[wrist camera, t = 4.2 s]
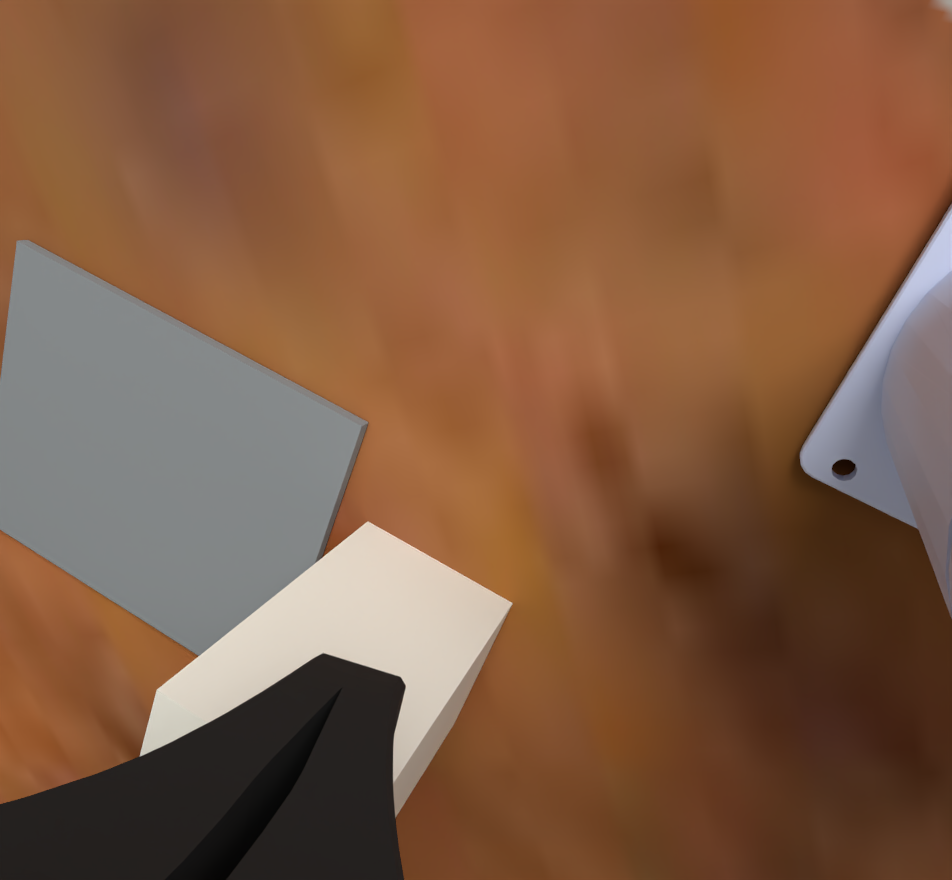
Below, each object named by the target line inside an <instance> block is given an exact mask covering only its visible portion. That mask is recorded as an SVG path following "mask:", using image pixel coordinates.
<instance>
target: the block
mask: <svg viewBox="0 0 952 880" xmlns="http://www.w3.org/2000/svg"><path fill="white" fill-rule="evenodd" d="M512 604H513V603H511V602H510V601H508V600H506V599H504V598H503V597H501V596H499V595H497V594H495V593H494V592H492V591H490V590H488V589H487V588H485V587H483V586H481V585H480V584H478V583H476V582H474V581H472V580H471V579H469V578H467V577H465V576H464V575H462V574H460V573H458V572H457V571H455V570H453V569H451V568H449V567H448V566H446V565H444V564H442V563H441V562H439V561H437V560H435V559H434V558H432V557H430V556H428V555H426V554H425V553H423V552H421V551H419V550H418V549H416V548H414V547H412V546H411V545H409V544H407V543H405V542H403V541H402V540H400V539H398V538H396V537H395V536H393V535H391V534H389V533H388V532H386V531H384V530H382V529H380V528H379V527H377V526H375V525H373V524H372V523H370V522H366V523H365V524H364V525H363V526H361V527H360V528H359V529H358V530H356V531H355V532H354V533H353V534H351V535H350V536H349V537H348V538H346V539H345V540H344V541H343V542H341V543H340V544H339V545H338V546H336V547H335V548H334V549H333V550H331V551H330V552H329V553H328V554H326V555H325V556H324V557H323V558H321V559H320V560H319V561H318V562H316V563H315V564H314V565H313V566H311V567H310V568H309V569H308V570H306V571H305V572H304V573H303V574H301V575H300V576H299V577H298V578H296V579H295V580H294V581H293V582H291V583H290V584H289V585H288V586H286V587H285V588H284V589H283V590H281V591H280V592H279V593H277V594H276V595H275V596H274V597H272V598H271V599H270V600H269V601H267V602H266V603H265V604H264V605H262V606H261V607H260V608H259V609H257V610H256V611H255V612H254V613H252V614H251V615H250V616H249V617H247V618H246V619H245V620H244V621H242V622H241V623H240V624H239V625H237V626H236V627H235V628H234V629H232V630H231V631H230V632H229V633H227V634H226V635H225V636H224V637H222V638H221V639H220V640H219V641H217V642H216V643H215V644H214V645H212V646H211V647H210V648H209V649H207V650H206V651H205V652H204V653H202V654H201V655H200V656H199V657H197V658H196V659H195V660H194V661H192V662H191V663H190V664H189V665H187V666H186V667H185V668H184V669H182V670H181V671H180V672H179V673H177V674H176V675H175V676H173V677H172V678H171V679H170V680H168V681H167V682H166V683H165V684H163V685H162V686H161V687H160V688H158V689H157V691H156V695H155V699H154V703H153V707H152V710H151V714H150V718H149V722H148V726H147V730H146V734H145V738H144V741H143V745H142V749H141V753H140V756H142V755H144V754H147V753H149V752H151V751H153V750H155V749H157V748H160V747H162V746H164V745H166V744H168V743H170V742H172V741H174V740H176V739H178V738H180V737H182V736H184V735H186V734H187V733H189V732H191V731H193V730H195V729H197V728H199V727H201V726H203V725H205V724H207V723H209V722H210V721H212V720H214V719H216V718H218V717H220V716H221V715H223V714H225V713H227V712H228V711H230V710H232V709H233V708H235V707H237V706H238V705H240V704H242V703H244V702H245V701H247V700H249V699H250V698H252V697H254V696H255V695H257V694H259V693H260V692H262V691H264V690H265V689H267V688H268V687H270V686H271V685H273V684H275V683H276V682H278V681H279V680H281V679H282V678H284V677H285V676H287V675H289V674H290V673H292V672H293V671H295V670H296V669H298V668H299V667H301V666H302V665H304V664H305V663H307V662H308V661H310V660H311V659H313V658H315V657H316V656H318V655H320V654H322V653H325V654H329V655H332V656H335V657H338V658H341V659H345V660H348V661H351V662H354V663H358V664H361V665H364V666H367V667H370V668H374V669H377V670H380V671H383V672H387V673H390V674H393V675H396V676H399V677H401V678H402V680H403V682H404V683H405V685H406V689H405V693H404V697H403V701H402V705H401V709H400V713H399V717H398V721H397V725H396V729H395V733H394V744H393V791H394V806H395V818H396V816H397V815H398V813H399V812H400V810H401V808H402V807H403V805H404V804H405V802H406V800H407V799H408V797H409V796H410V794H411V792H412V791H413V789H414V788H415V786H416V784H417V783H418V781H419V779H420V778H421V776H422V775H423V773H424V771H425V770H426V768H427V767H428V765H429V763H430V762H431V760H432V759H433V757H434V755H435V754H436V752H437V751H438V749H439V747H440V746H441V744H442V743H443V741H444V739H445V738H446V736H447V735H448V733H449V731H450V730H451V728H452V727H453V725H454V723H455V721H456V719H457V717H458V715H459V713H460V711H461V709H462V707H463V705H464V703H465V701H466V699H467V697H468V695H469V692H470V690H471V688H472V686H473V684H474V682H475V680H476V678H477V676H478V674H479V672H480V670H481V668H482V666H483V664H484V662H485V659H486V657H487V655H488V653H489V651H490V649H491V647H492V645H493V643H494V641H495V639H496V637H497V635H498V633H499V631H500V629H501V627H502V624H503V622H504V620H505V618H506V616H507V614H508V612H509V610H510V608H511V606H512Z"/></svg>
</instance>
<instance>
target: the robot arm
mask: <svg viewBox="0 0 952 880" xmlns="http://www.w3.org/2000/svg"><path fill="white" fill-rule="evenodd" d="M841 459H847V460H851V461H852V462H853V463H855V464H856V466H855V469H854V471H853V472H851V473H850V474H848V475H844V476H843V475H839V474H836V473H835V472H834V471H833V470H832V466H833V464H834V463H835V462H836V461H838V460H841ZM800 462H801V466H802V468H803V470H804V471H805V472H806V473H807V474H808V475H810V476H811V477H812V478H815V479H817V480H819V481H821V482H823V483H825V484H827V485H829V486H831V487H833V488H835V489H837V490H839V491H841V492H843V493H845V494H847V495H849V496H851V497H853V498H855V499H858V500H860V501H862V502H864V503H866V504H868V505H870V506H872V507H874V508H876V509H878V510H880V511H882V512H884V513H886V514H888V515H890V516H892V517H894V518H896V519H899V520H901V521H903V522H905V523H907V524H909V525H911V526H913V527H915V528H917V529H919V532H920V535H921V537H922V540H923V543H924V546H925V548H926V551H927V554H928V556H929V559H930V562H931V565H932V567H933V570H934V573H935V575H936V578H937V581H938V584H939V586H940V589H941V592H942V594H943V597H944V600H945V602H946V605H947V608H948V611H949V613H950V616H951V619H952V204H951V205H950V207H949V209H948V210H947V212H946V213H945V215H944V217H943V218H942V220H941V222H940V223H939V225H938V226H937V228H936V230H935V231H934V233H933V234H932V236H931V238H930V239H929V241H928V243H927V244H926V246H925V247H924V249H923V251H922V252H921V254H920V256H919V257H918V259H917V260H916V262H915V264H914V265H913V267H912V269H911V270H910V272H909V273H908V275H907V277H906V278H905V280H904V282H903V283H902V285H901V286H900V288H899V290H898V291H897V293H896V295H895V296H894V298H893V299H892V301H891V303H890V304H889V306H888V308H887V309H886V311H885V312H884V314H883V316H882V317H881V319H880V321H879V322H878V324H877V325H876V327H875V329H874V330H873V332H872V334H871V335H870V337H869V338H868V340H867V342H866V343H865V345H864V347H863V348H862V350H861V351H860V353H859V355H858V356H857V358H856V360H855V361H854V363H853V364H852V366H851V368H850V369H849V371H848V373H847V374H846V376H845V377H844V379H843V381H842V382H841V384H840V385H839V387H838V389H837V390H836V392H835V394H834V395H833V397H832V398H831V400H830V402H829V403H828V405H827V407H826V408H825V410H824V411H823V413H822V415H821V416H820V418H819V420H818V421H817V423H816V424H815V426H814V428H813V429H812V431H811V433H810V434H809V436H808V437H807V439H806V441H805V442H804V444H803V446H802V448H801V451H800ZM405 689H406V685H405V683H404V682H403V680H402V678H401V677H399V676H396V675H393V674H390V673H387V672H383V671H380V670H377V669H374V668H370V667H367V666H364V665H361V664H358V663H354V662H351V661H348V660H345V659H341V658H338V657H335V656H332V655H329V654H325V653H322V654H320V655H318V656H316V657H315V658H313V659H311V660H310V661H308V662H307V663H305V664H304V665H302V666H301V667H299V668H298V669H296V670H295V671H293V672H292V673H290V674H289V675H287V676H285V677H284V678H282V679H281V680H279V681H278V682H276V683H275V684H273V685H271V686H270V687H268V688H267V689H265V690H264V691H262V692H260V693H259V694H257V695H255V696H254V697H252V698H250V699H249V700H247V701H245V702H244V703H242V704H240V705H238V706H237V707H235V708H233V709H232V710H230V711H228V712H227V713H225V714H223V715H221V716H220V717H218V718H216V719H214V720H212V721H210V722H209V723H207V724H205V725H203V726H201V727H199V728H197V729H195V730H193V731H191V732H189V733H187V734H186V735H184V736H182V737H180V738H178V739H176V740H174V741H172V742H170V743H168V744H166V745H164V746H162V747H160V748H157V749H155V750H153V751H151V752H149V753H147V754H144V755H142V756H140V757H137V758H135V759H133V760H130V761H128V762H125V763H123V764H120V765H118V766H115V767H113V768H111V769H108V770H105V771H103V772H100V773H97V774H95V775H92V776H89V777H86V778H83V779H80V780H77V781H73V782H70V783H67V784H64V785H61V786H58V787H55V788H52V789H49V790H46V791H43V792H40V793H37V794H34V795H31V796H28V797H25V798H21V799H18V800H14V801H11V802H7V803H3V804H0V880H404V877H403V871H402V865H401V859H400V852H399V846H398V838H397V829H396V819H395V806H394V791H393V744H394V733H395V729H396V725H397V721H398V717H399V713H400V709H401V705H402V701H403V697H404V693H405Z"/></svg>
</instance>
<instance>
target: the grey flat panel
mask: <svg viewBox="0 0 952 880" xmlns="http://www.w3.org/2000/svg"><path fill="white" fill-rule="evenodd" d="M367 425H368V422H367V421H365V420H363V419H361V418H359V417H357V416H355V415H354V414H352V413H350V412H348V411H346V410H344V409H342V408H341V407H339V406H337V405H335V404H333V403H331V402H329V401H327V400H326V399H324V398H322V397H320V396H318V395H316V394H314V393H313V392H311V391H309V390H307V389H305V388H303V387H301V386H299V385H298V384H296V383H294V382H292V381H290V380H288V379H286V378H285V377H283V376H281V375H279V374H277V373H275V372H273V371H271V370H270V369H268V368H266V367H264V366H262V365H260V364H258V363H257V362H255V361H253V360H251V359H249V358H247V357H245V356H243V355H242V354H240V353H238V352H236V351H234V350H232V349H230V348H229V347H227V346H225V345H223V344H221V343H219V342H217V341H215V340H214V339H212V338H210V337H208V336H206V335H204V334H202V333H201V332H199V331H197V330H195V329H193V328H191V327H189V326H187V325H186V324H184V323H182V322H180V321H178V320H176V319H174V318H173V317H171V316H169V315H167V314H165V313H163V312H161V311H159V310H158V309H156V308H154V307H152V306H150V305H148V304H146V303H144V302H143V301H141V300H139V299H137V298H135V297H133V296H131V295H130V294H128V293H126V292H124V291H122V290H120V289H118V288H116V287H115V286H113V285H111V284H109V283H107V282H105V281H103V280H102V279H100V278H98V277H96V276H94V275H92V274H90V273H88V272H87V271H85V270H83V269H81V268H79V267H77V266H75V265H74V264H72V263H70V262H68V261H66V260H64V259H62V258H60V257H59V256H57V255H55V254H53V253H51V252H49V251H47V250H46V249H44V248H42V247H40V246H38V245H36V244H34V243H32V242H31V241H29V240H21V241H17V245H16V253H15V262H14V270H13V279H12V287H11V295H10V304H9V312H8V321H7V329H6V337H5V346H4V354H3V362H2V371H1V379H0V530H2V531H3V532H5V533H6V534H8V535H9V536H11V537H13V538H14V539H16V540H17V541H19V542H20V543H22V544H24V545H25V546H27V547H28V548H30V549H31V550H33V551H35V552H36V553H38V554H39V555H41V556H42V557H44V558H46V559H47V560H49V561H50V562H52V563H54V564H55V565H57V566H58V567H60V568H61V569H63V570H65V571H66V572H68V573H69V574H71V575H72V576H74V577H76V578H77V579H79V580H80V581H82V582H83V583H85V584H87V585H88V586H90V587H91V588H93V589H94V590H96V591H98V592H99V593H101V594H102V595H104V596H105V597H107V598H109V599H110V600H112V601H113V602H115V603H116V604H118V605H120V606H121V607H123V608H124V609H126V610H127V611H129V612H131V613H132V614H134V615H135V616H137V617H138V618H140V619H142V620H143V621H145V622H146V623H148V624H150V625H151V626H153V627H154V628H156V629H157V630H159V631H161V632H162V633H164V634H165V635H167V636H168V637H170V638H172V639H173V640H175V641H176V642H178V643H179V644H181V645H183V646H184V647H186V648H187V649H189V650H190V651H192V652H194V653H195V654H197V655H198V656H200V655H201V654H202V653H204V652H205V651H206V650H207V649H209V648H210V647H211V646H212V645H214V644H215V643H216V642H217V641H219V640H220V639H221V638H222V637H224V636H225V635H226V634H227V633H229V632H230V631H231V630H232V629H234V628H235V627H236V626H237V625H239V624H240V623H241V622H242V621H244V620H245V619H246V618H247V617H249V616H250V615H251V614H252V613H254V612H255V611H256V610H257V609H259V608H260V607H261V606H262V605H264V604H265V603H266V602H267V601H269V600H270V599H271V598H272V597H274V596H275V595H276V594H277V593H279V592H280V591H281V590H283V589H284V588H285V587H286V586H288V585H289V584H290V583H291V582H293V581H294V580H295V579H296V578H298V577H299V576H300V575H301V574H303V573H304V572H305V571H306V570H308V569H309V568H310V567H311V566H313V565H314V564H315V563H316V562H318V561H319V560H320V559H321V558H322V556H323V553H324V550H325V547H326V544H327V541H328V538H329V536H330V533H331V530H332V527H333V524H334V521H335V518H336V515H337V512H338V509H339V507H340V504H341V501H342V498H343V495H344V492H345V489H346V486H347V483H348V480H349V478H350V475H351V472H352V469H353V466H354V463H355V460H356V457H357V454H358V451H359V449H360V446H361V443H362V440H363V437H364V434H365V431H366V428H367Z"/></svg>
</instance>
